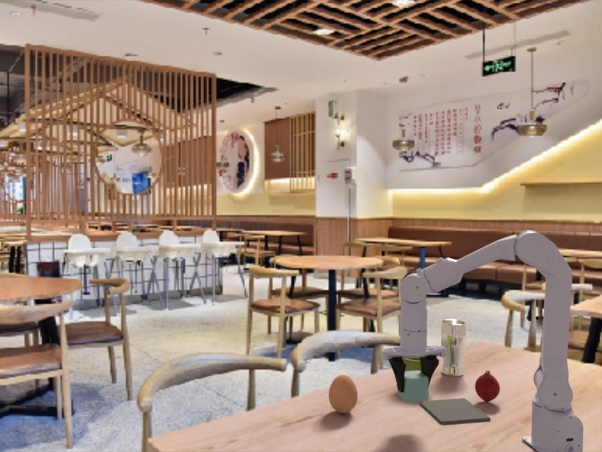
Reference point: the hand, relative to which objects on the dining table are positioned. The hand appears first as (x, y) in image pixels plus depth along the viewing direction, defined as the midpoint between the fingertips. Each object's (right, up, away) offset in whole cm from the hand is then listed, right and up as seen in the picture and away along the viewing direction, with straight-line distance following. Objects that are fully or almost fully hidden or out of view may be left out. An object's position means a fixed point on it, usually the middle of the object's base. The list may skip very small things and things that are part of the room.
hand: (412, 390), depth 115 cm
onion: (+22, -8, +15) cm, 27 cm away
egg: (-15, -8, +8) cm, 18 cm away
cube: (0, -2, 0) cm, 2 cm away
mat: (+12, -8, +9) cm, 16 cm away
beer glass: (+19, -7, +37) cm, 42 cm away
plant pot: (+6, -7, +25) cm, 27 cm away
